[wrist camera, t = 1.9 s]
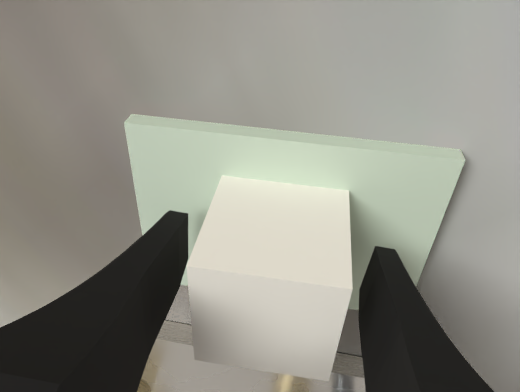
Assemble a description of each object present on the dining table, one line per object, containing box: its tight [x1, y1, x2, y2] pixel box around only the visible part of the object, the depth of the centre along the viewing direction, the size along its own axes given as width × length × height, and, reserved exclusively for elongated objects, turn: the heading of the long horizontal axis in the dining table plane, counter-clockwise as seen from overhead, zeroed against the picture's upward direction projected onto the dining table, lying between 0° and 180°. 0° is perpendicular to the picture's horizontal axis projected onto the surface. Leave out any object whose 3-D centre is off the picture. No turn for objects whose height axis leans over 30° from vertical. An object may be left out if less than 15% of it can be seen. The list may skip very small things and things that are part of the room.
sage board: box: [124, 114, 465, 381], centre depth 13 cm, size 10×7×5 cm
